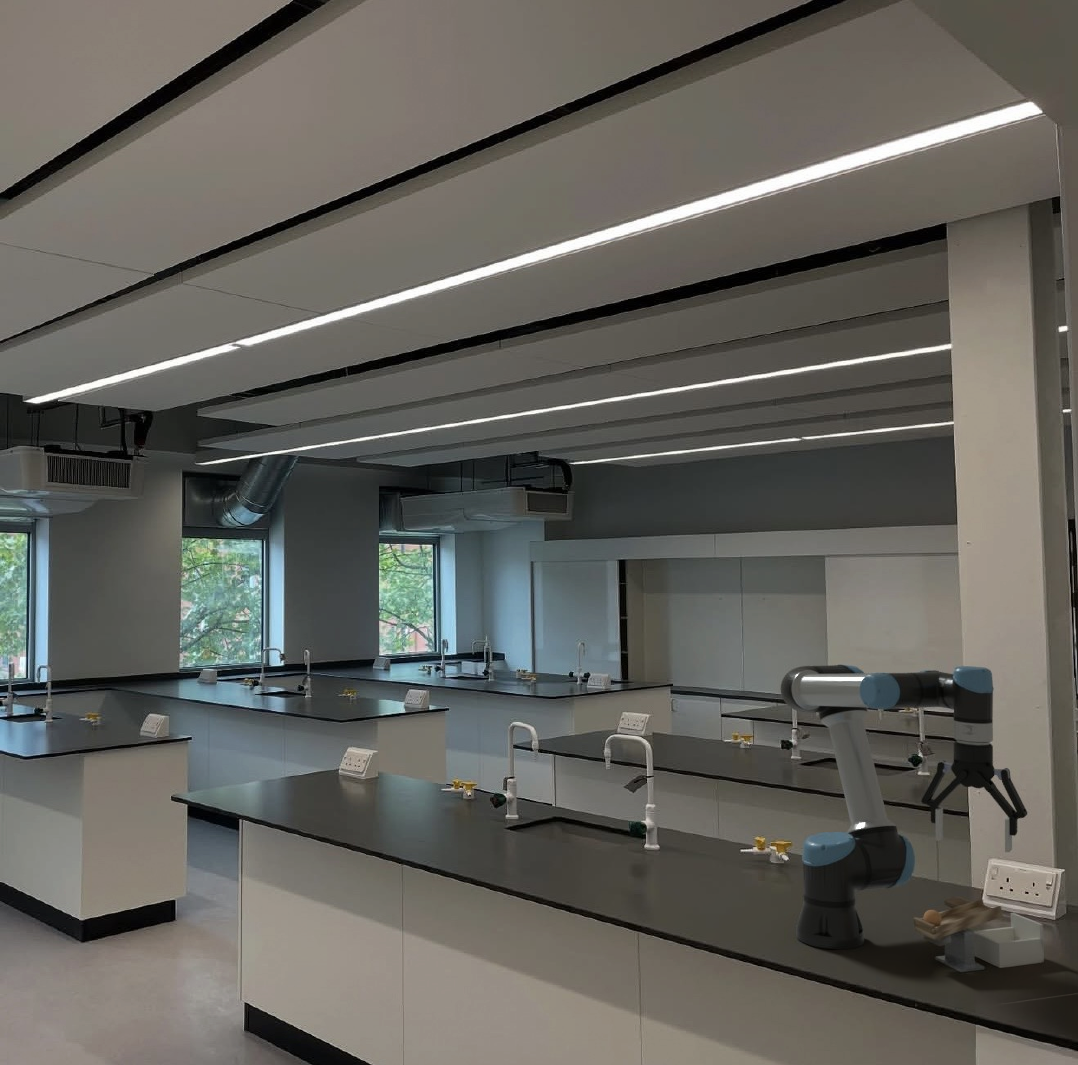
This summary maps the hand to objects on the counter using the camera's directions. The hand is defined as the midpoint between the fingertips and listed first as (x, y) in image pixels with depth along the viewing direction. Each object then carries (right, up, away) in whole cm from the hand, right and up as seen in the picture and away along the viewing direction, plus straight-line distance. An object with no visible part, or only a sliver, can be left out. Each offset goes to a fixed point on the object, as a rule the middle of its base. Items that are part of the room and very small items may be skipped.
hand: (973, 845), depth 212 cm
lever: (0, -22, +12) cm, 25 cm away
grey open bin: (+12, -28, +12) cm, 33 cm away
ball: (-6, -18, +6) cm, 20 cm away
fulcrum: (0, -28, +8) cm, 29 cm away
